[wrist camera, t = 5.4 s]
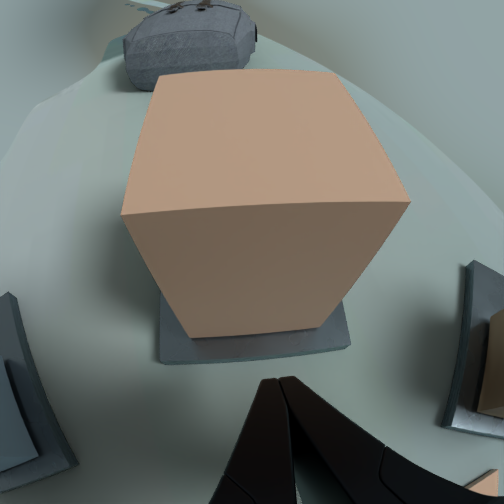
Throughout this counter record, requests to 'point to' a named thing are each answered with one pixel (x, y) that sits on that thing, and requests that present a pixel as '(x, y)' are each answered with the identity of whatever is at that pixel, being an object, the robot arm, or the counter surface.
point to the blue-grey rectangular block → (12, 428)
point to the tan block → (258, 198)
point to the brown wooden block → (494, 370)
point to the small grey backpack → (188, 41)
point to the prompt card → (486, 484)
